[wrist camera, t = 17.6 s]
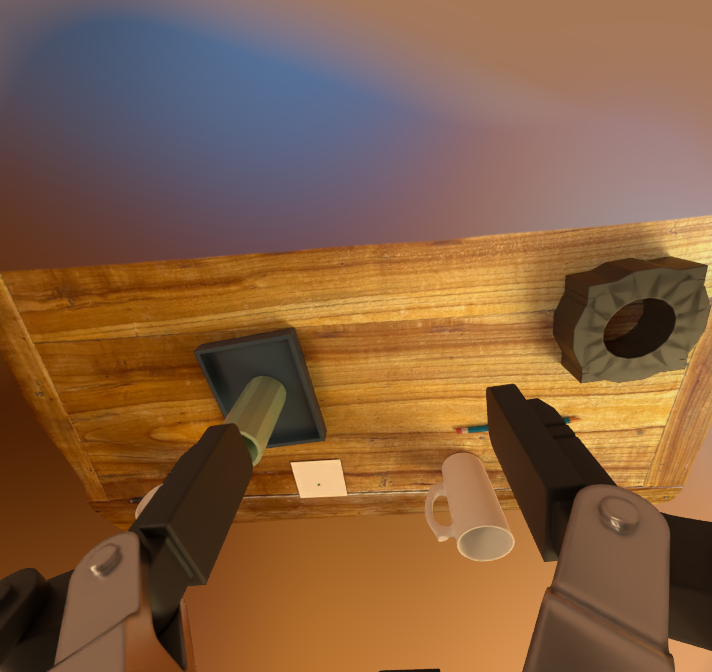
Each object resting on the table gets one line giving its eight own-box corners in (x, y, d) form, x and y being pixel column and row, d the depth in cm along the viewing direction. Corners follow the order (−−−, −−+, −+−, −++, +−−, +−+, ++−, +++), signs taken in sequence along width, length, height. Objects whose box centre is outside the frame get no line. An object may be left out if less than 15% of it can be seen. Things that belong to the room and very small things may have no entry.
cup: (240, 379, 45) (202, 433, 35) (279, 372, 44) (252, 426, 34) (254, 411, 47) (222, 471, 37) (291, 405, 47) (269, 465, 37)
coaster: (340, 459, 51) (339, 463, 50) (347, 495, 54) (347, 499, 54) (290, 462, 52) (289, 466, 51) (300, 497, 55) (299, 502, 54)
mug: (482, 447, 49) (513, 522, 38) (486, 479, 51) (516, 558, 41) (415, 457, 50) (426, 532, 39) (422, 487, 53) (434, 566, 42)
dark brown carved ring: (555, 271, 38) (577, 282, 33) (683, 248, 36) (723, 256, 32) (551, 370, 43) (570, 389, 39) (663, 353, 41) (695, 372, 37)
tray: (201, 344, 44) (193, 351, 42) (294, 327, 42) (290, 334, 40) (245, 442, 51) (240, 452, 49) (327, 431, 49) (325, 440, 47)
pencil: (456, 427, 48) (457, 430, 47) (581, 415, 46) (583, 418, 45) (456, 431, 48) (457, 434, 47) (580, 419, 46) (583, 422, 45)
